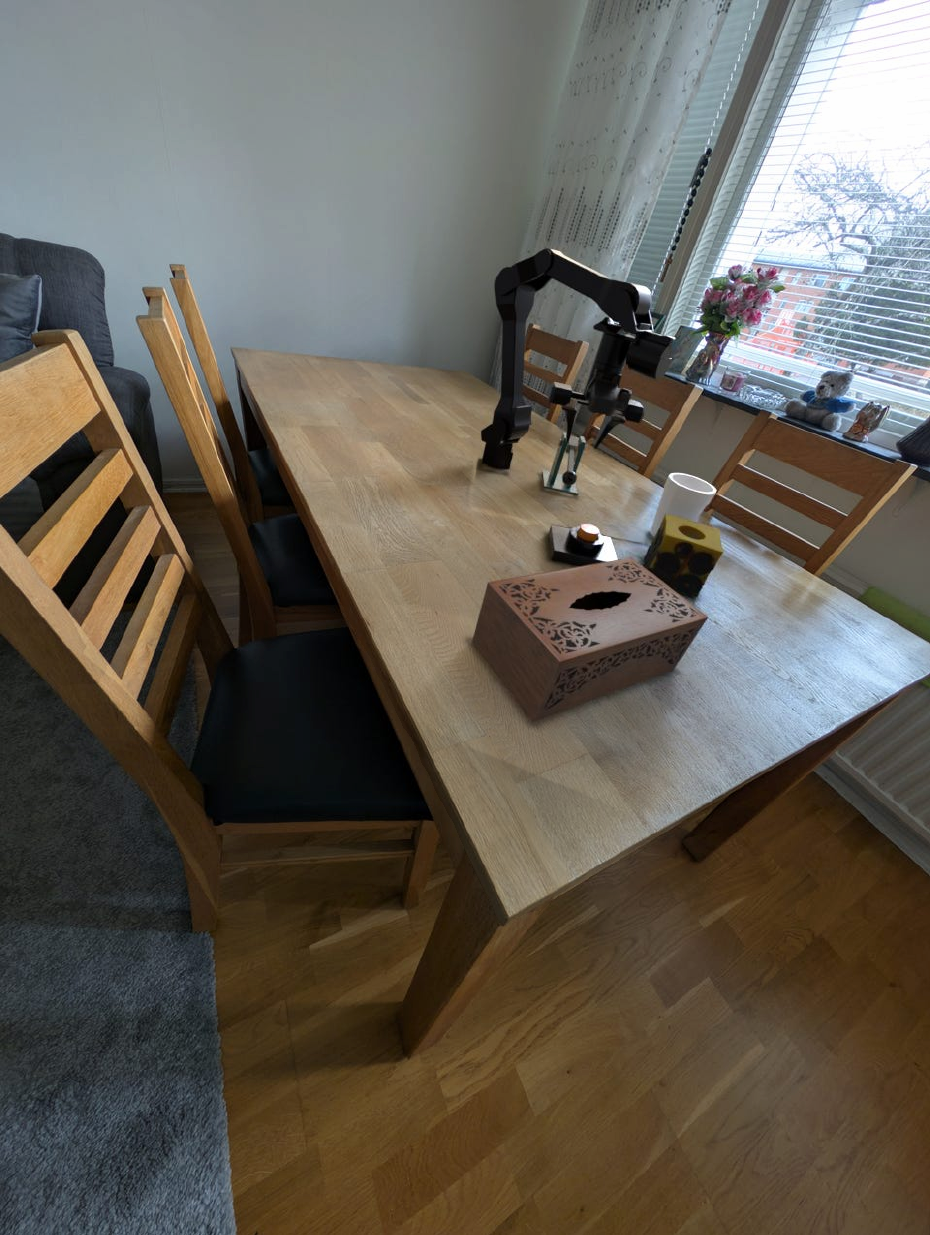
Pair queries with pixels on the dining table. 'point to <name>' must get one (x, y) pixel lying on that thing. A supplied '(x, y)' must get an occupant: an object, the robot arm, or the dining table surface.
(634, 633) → the tissue box cover
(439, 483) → the dining table surface
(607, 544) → the button box
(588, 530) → the button
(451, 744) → the dining table surface
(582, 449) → the teal pendulum stand
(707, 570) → the yellow cube tissue box
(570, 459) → the lever
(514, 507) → the dining table surface
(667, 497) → the foam cup
